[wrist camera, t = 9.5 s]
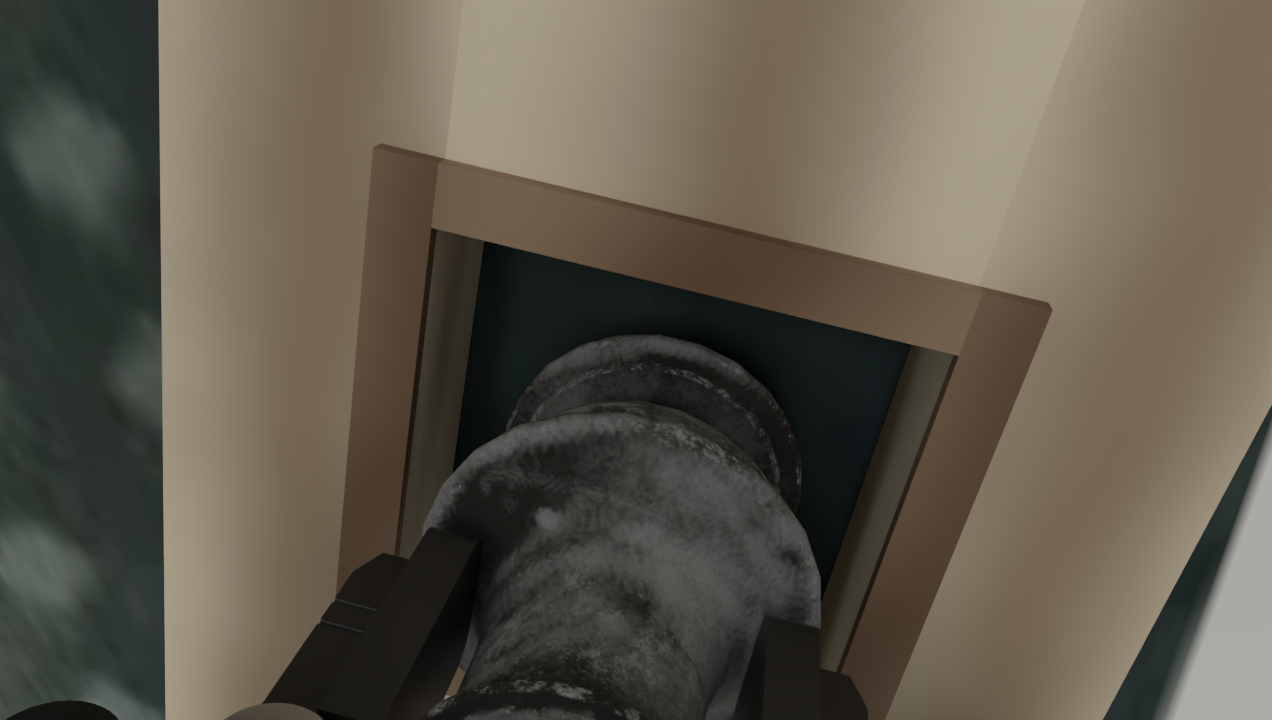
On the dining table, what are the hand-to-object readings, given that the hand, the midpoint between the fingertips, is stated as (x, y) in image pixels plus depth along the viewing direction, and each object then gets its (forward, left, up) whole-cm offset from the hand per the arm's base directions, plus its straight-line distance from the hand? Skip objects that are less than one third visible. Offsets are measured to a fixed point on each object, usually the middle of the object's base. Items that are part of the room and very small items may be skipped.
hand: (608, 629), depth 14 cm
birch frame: (0, 0, -6) cm, 6 cm away
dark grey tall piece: (0, 0, -4) cm, 4 cm away
